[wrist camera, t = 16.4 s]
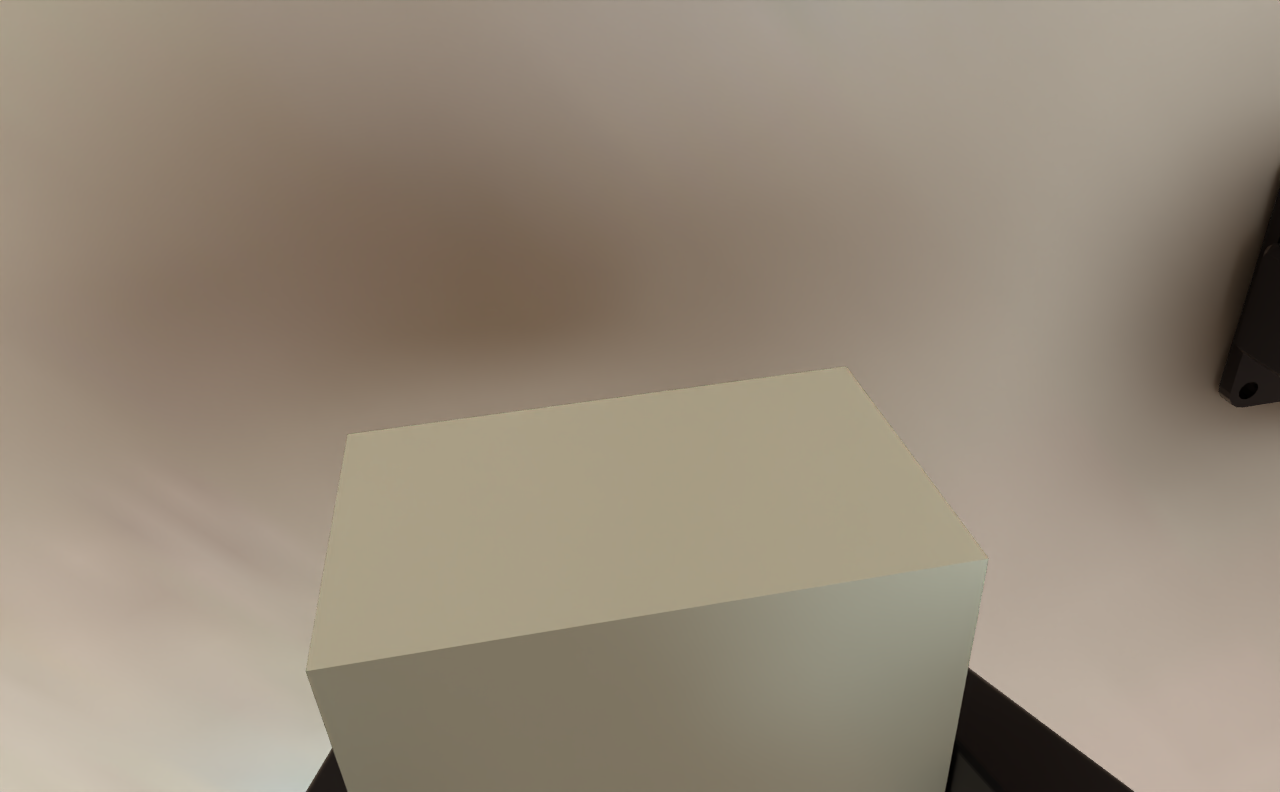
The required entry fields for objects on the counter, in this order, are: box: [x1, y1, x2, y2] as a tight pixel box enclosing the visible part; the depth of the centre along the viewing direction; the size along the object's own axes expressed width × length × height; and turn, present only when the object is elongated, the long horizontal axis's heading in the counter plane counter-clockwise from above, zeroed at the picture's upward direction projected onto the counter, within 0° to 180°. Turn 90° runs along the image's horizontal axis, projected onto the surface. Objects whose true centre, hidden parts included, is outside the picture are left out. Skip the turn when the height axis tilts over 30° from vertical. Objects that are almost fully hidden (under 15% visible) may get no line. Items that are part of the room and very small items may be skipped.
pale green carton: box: [306, 366, 989, 792], centre depth 10 cm, size 5×6×3 cm
